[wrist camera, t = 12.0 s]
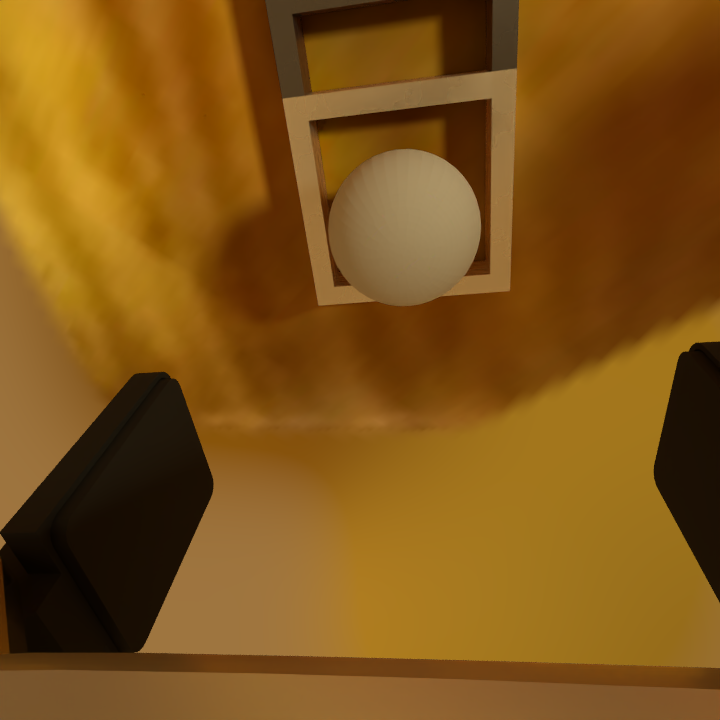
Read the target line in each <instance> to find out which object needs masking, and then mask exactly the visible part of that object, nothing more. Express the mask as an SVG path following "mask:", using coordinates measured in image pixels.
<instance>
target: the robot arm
mask: <svg viewBox="0 0 720 720" xmlns="http://www.w3.org/2000/svg"><path fill="white" fill-rule="evenodd" d="M654 479H655V482H656V486H657V488H658V490H659V491H660V493H661V495H662V497H663V499H664V501H665V503H666V504H667V506H668V508H669V510H670V512H671V513H672V515H673V517H674V519H675V521H676V523H677V525H678V527H679V528H680V530H681V532H682V534H683V536H684V538H685V539H686V541H687V543H688V545H689V547H690V548H691V550H692V552H693V554H694V556H695V558H696V560H697V561H698V563H699V565H700V567H701V569H702V571H703V573H704V574H705V576H706V578H707V580H708V582H709V584H710V585H711V587H712V589H713V591H714V593H715V595H716V597H717V598H718V600H719V602H720V342H704V343H695V344H693V345H692V346H691V348H690V350H689V352H683V353H681V355H680V356H679V359H678V362H677V367H676V371H675V375H674V380H673V384H672V389H671V393H670V398H669V402H668V407H667V411H666V415H665V420H664V424H663V429H662V433H661V437H660V442H659V446H658V451H657V455H656V460H655V464H654ZM212 492H213V478H212V475H211V472H210V469H209V466H208V463H207V460H206V457H205V455H204V452H203V449H202V446H201V443H200V441H199V438H198V435H197V432H196V429H195V426H194V424H193V421H192V418H191V415H190V412H189V410H188V407H187V404H186V401H185V398H184V395H183V393H182V390H181V387H180V385H179V383H178V381H177V380H176V379H171V378H170V376H169V375H168V374H167V373H165V372H154V373H138V374H135V375H133V376H132V377H131V378H130V380H129V381H128V382H127V383H126V384H125V385H124V387H123V388H122V389H121V390H120V391H119V393H118V394H117V395H116V396H115V397H114V398H113V400H112V401H111V402H110V403H109V404H108V405H107V407H106V408H105V409H104V410H103V411H102V413H101V414H100V415H99V416H98V417H97V418H96V420H95V421H94V422H93V423H92V424H91V426H90V427H89V428H88V429H87V430H86V431H85V433H84V434H83V435H82V436H81V437H80V439H79V440H78V441H77V442H76V443H75V445H73V447H72V448H71V449H70V450H69V451H68V453H67V454H66V455H65V456H64V457H63V458H62V460H61V461H60V462H59V463H58V465H56V467H55V468H54V469H53V470H52V472H51V473H50V474H49V475H48V476H47V477H46V479H45V480H44V481H43V482H42V483H41V484H40V486H39V487H38V488H37V489H36V490H35V491H34V493H33V494H32V495H31V496H30V497H29V499H28V500H27V501H26V502H25V503H24V504H23V506H22V507H21V508H20V509H19V510H18V511H17V513H16V514H15V515H14V516H13V517H12V518H11V520H10V521H9V522H8V523H7V524H6V526H5V527H4V528H3V529H2V530H1V531H0V534H1V536H2V537H3V538H4V540H5V542H6V544H5V545H4V546H3V547H2V549H1V550H0V720H720V668H701V667H700V668H699V667H669V666H667V667H666V666H636V665H604V664H571V663H537V662H506V661H469V660H468V661H467V660H432V659H431V660H430V659H393V658H352V657H351V658H350V657H313V656H311V657H309V656H267V655H264V656H263V655H217V654H168V653H134V652H138V651H140V650H141V649H142V647H143V646H144V644H145V642H146V640H147V638H148V636H149V634H150V631H151V629H152V627H153V625H154V623H155V620H156V618H157V616H158V613H159V611H160V609H161V607H162V604H163V603H164V600H165V598H166V596H167V593H168V591H169V589H170V587H171V585H172V583H173V580H174V578H175V576H176V574H177V572H178V569H179V567H180V565H181V562H182V560H183V558H184V556H185V554H186V552H187V549H188V547H189V545H190V543H191V540H192V538H193V536H194V534H195V531H196V529H197V527H198V525H199V522H200V520H201V518H202V516H203V514H204V511H205V509H206V507H207V505H208V503H209V500H210V498H211V496H212Z"/></svg>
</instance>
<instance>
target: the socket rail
mask: <svg viewBox="0 0 720 720" xmlns="http://www.w3.org/2000/svg"><path fill="white" fill-rule="evenodd" d="M400 1H407V0H265V2H266V8H267V13H268V19H269V25H270V31H271V36H272V42H273V48H274V54H275V59H276V65H277V71H278V76H279V82H280V88H281V94H282V99H283V105H284V111H285V117H286V122H287V128H288V134H289V140H290V145H291V151H292V157H293V162H294V168H295V174H296V180H297V185H298V191H299V197H300V203H301V208H302V214H303V220H304V226H305V231H306V237H307V243H308V248H309V254H310V260H311V266H312V271H313V277H314V283H315V289H316V294H317V300H318V306H321V305H334V304H347V303H360V302H373V301H375V300H373V299H370V298H368V297H367V296H365V295H363V294H362V293H360V292H359V291H358V290H356V289H355V288H354V287H353V286H352V285H351V284H350V283H349V282H348V281H347V280H346V278H345V277H344V276H343V275H342V273H338V266H337V265H336V262H335V260H334V257H333V255H332V252H331V247H330V243H329V234H328V226H329V215H330V212H329V205H328V199H327V192H326V185H325V178H324V171H323V165H322V158H321V151H320V144H319V138H318V131H317V124H316V120H319V119H327V118H335V117H343V116H351V115H359V114H368V113H376V112H384V111H392V110H400V109H408V108H416V107H425V106H433V105H441V104H449V103H457V102H465V101H473V100H481V99H486V169H485V260H483V261H473V262H472V264H471V266H470V267H469V269H468V271H467V272H466V274H465V275H464V276H463V278H462V279H461V280H460V281H459V282H458V283H457V284H456V285H455V286H454V287H453V288H452V289H451V290H449V291H448V292H446V293H445V294H443V295H442V296H451V295H464V294H478V293H491V292H504V291H510V276H511V243H512V210H513V177H514V144H515V111H516V77H517V44H518V11H519V0H486V70H480V71H473V72H465V73H457V74H450V75H442V76H434V77H427V78H419V79H411V80H403V81H396V82H388V83H380V84H373V85H365V86H357V87H350V88H342V89H334V90H326V91H319V92H312V90H311V84H310V77H309V70H308V63H307V56H306V50H305V43H304V36H303V29H302V23H301V16H306V15H313V14H320V13H326V12H333V11H340V10H347V9H353V8H360V7H367V6H373V5H380V4H387V3H393V2H400Z"/></svg>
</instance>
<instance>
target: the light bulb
mask: <svg viewBox="0 0 720 720" xmlns="http://www.w3.org/2000/svg"><path fill="white" fill-rule="evenodd" d="M328 234H329V243H330V247H331V252H332V255H333V257H334V260H335V262H336V265H337V266H338V268H339V270H340V271H341V273H342V275H343V276H344V277H345V278H346V280H347V281H348V282H349V283H350V284H351V285H352V286H353V287H354V288H355V289H356V290H358V291H359V292H360V293H362V294H363V295H365V296H367V297H368V298H370V299H373V300H375V301H377V302H380V303H384V304H387V305H394V306H413V305H419V304H423V303H426V302H429V301H432V300H434V299H436V298H438V297H440V296H442V295H443V294H445V293H446V292H448V291H449V290H451V289H452V288H453V287H454V286H455V285H456V284H457V283H458V282H459V281H460V280H461V279H462V278H463V276H464V275H465V274H466V272H467V271H468V269H469V267H470V266H471V264H472V262H473V260H474V258H475V255H476V253H477V250H478V246H479V241H480V235H481V218H480V210H479V207H478V203H477V199H476V197H475V195H474V192H473V190H472V188H471V186H470V185H469V183H468V182H467V180H466V179H465V178H464V176H463V175H462V174H461V173H460V172H459V171H458V170H457V169H456V168H455V167H454V166H453V165H451V164H450V163H448V162H447V161H446V160H444V159H442V158H440V157H438V156H436V155H434V154H431V153H428V152H425V151H421V150H413V149H397V150H392V151H388V152H384V153H381V154H379V155H376V156H374V157H372V158H370V159H368V160H367V161H365V162H363V163H362V164H361V165H359V166H358V167H357V168H356V169H355V170H353V171H352V172H351V174H350V175H349V176H348V177H347V178H346V179H345V180H344V182H343V183H342V185H341V187H340V188H339V190H338V191H337V194H336V196H335V198H334V201H333V203H332V207H331V211H330V215H329V226H328Z"/></svg>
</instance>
